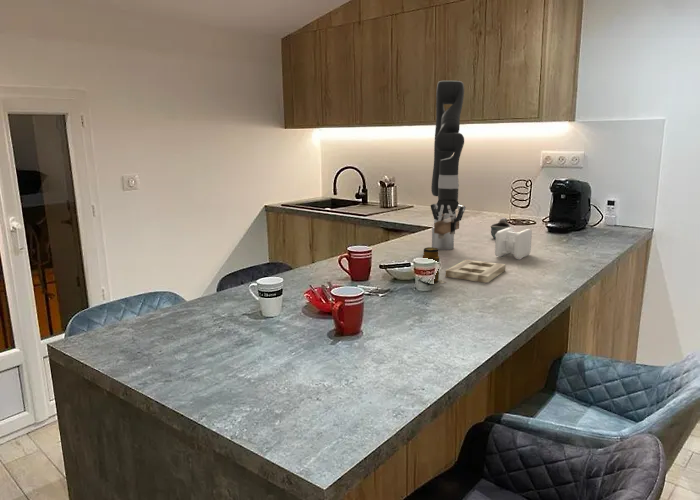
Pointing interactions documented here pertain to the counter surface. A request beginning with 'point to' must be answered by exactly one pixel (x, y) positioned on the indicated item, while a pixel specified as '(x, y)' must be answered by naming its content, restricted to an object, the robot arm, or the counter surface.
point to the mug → (499, 226)
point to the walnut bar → (444, 227)
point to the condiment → (433, 254)
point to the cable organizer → (513, 242)
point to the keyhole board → (475, 271)
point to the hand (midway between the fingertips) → (447, 231)
